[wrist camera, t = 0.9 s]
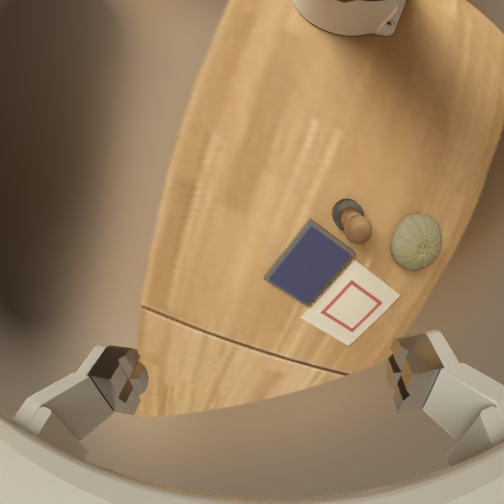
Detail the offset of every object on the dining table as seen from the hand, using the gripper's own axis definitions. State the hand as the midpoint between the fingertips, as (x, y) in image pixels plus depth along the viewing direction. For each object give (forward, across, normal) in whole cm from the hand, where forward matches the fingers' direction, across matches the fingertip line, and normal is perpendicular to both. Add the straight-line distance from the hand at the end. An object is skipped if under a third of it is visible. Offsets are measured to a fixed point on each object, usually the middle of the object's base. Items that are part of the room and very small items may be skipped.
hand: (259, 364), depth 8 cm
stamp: (+35, -10, +6) cm, 36 cm away
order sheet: (+35, -11, +23) cm, 43 cm away
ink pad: (+35, -4, +14) cm, 38 cm away
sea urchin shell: (+35, -21, +11) cm, 42 cm away
